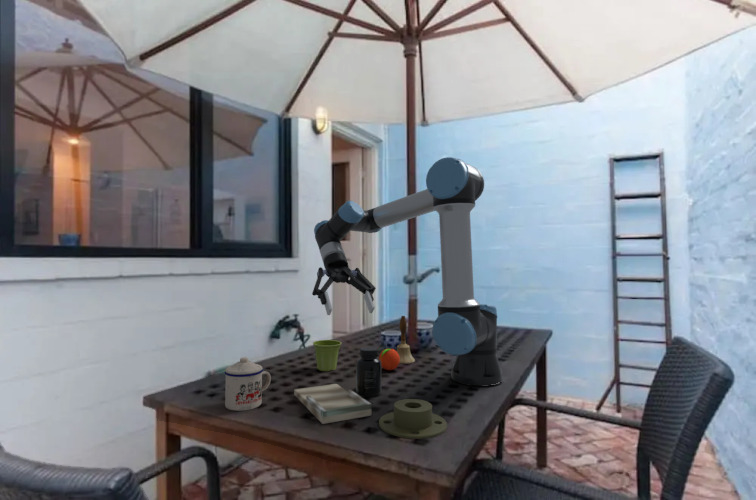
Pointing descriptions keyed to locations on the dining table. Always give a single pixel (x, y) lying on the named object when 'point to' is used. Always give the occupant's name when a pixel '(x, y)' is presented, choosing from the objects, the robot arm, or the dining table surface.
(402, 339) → the hand bell
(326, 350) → the plant pot
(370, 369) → the supplement bottle
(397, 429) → the flange
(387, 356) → the clementine
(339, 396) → the rail board
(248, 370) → the teacup with lid
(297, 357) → the dining table surface
